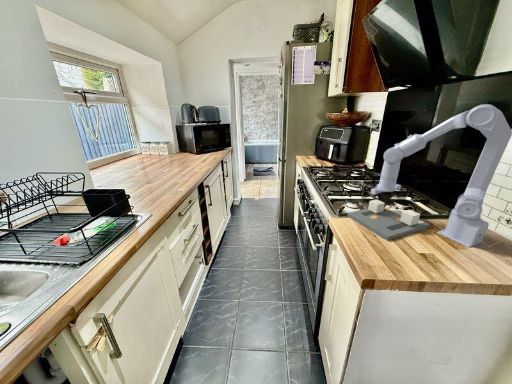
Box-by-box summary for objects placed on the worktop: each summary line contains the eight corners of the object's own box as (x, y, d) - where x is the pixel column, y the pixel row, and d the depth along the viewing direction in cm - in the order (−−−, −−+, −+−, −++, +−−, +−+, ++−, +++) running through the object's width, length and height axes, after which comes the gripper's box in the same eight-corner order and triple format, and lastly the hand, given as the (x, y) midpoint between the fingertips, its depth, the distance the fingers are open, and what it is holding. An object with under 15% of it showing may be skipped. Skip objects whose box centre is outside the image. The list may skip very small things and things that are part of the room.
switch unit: (428, 227, 82) (430, 223, 81) (386, 240, 74) (388, 236, 74) (384, 207, 98) (385, 203, 97) (347, 216, 91) (347, 212, 90)
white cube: (417, 223, 81) (420, 214, 79) (410, 225, 79) (412, 216, 78) (407, 218, 84) (409, 209, 82) (399, 220, 83) (402, 211, 81)
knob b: (382, 211, 90) (384, 203, 88) (375, 213, 89) (377, 204, 87) (374, 207, 93) (376, 199, 92) (368, 209, 92) (369, 200, 90)
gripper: (392, 172, 92) (386, 200, 98) (367, 176, 88) (361, 206, 93) (408, 176, 86) (400, 207, 91) (382, 181, 82) (375, 213, 87)
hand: (381, 207), depth 92 cm, fingers closed
